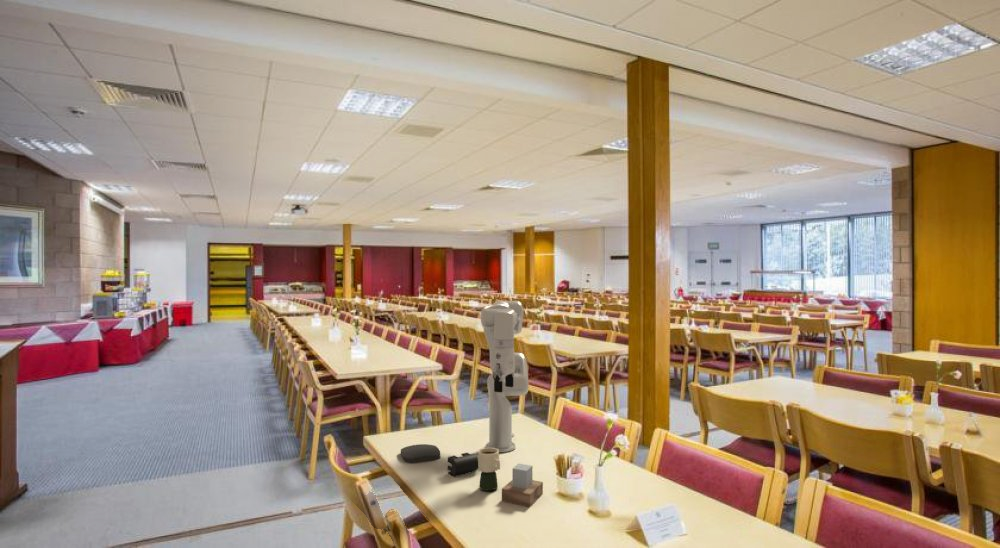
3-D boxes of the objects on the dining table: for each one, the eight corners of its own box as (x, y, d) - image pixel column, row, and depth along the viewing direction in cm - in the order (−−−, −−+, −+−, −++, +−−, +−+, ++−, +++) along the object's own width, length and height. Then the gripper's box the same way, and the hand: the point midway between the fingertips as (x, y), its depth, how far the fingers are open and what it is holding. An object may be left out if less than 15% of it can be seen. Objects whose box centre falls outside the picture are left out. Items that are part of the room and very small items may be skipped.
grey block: (532, 483, 175) (532, 465, 175) (526, 489, 171) (526, 470, 171) (518, 481, 177) (518, 463, 177) (512, 486, 173) (512, 468, 173)
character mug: (507, 490, 179) (507, 452, 179) (491, 496, 175) (491, 457, 175) (485, 481, 187) (485, 444, 187) (470, 486, 183) (470, 449, 183)
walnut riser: (515, 488, 181) (515, 476, 181) (542, 493, 177) (542, 482, 177) (501, 501, 171) (501, 488, 171) (530, 507, 167) (530, 494, 167)
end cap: (456, 480, 189) (456, 461, 189) (446, 474, 195) (446, 455, 195) (479, 473, 195) (479, 455, 195) (469, 468, 200) (469, 450, 200)
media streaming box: (442, 460, 209) (442, 452, 209) (405, 465, 204) (405, 457, 204) (433, 449, 223) (433, 441, 223) (399, 453, 218) (399, 446, 218)
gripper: (503, 347, 189) (503, 395, 189) (522, 341, 205) (522, 385, 205) (484, 346, 192) (484, 393, 192) (504, 340, 208) (504, 384, 208)
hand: (503, 389), depth 198 cm, fingers open, 9 cm apart
